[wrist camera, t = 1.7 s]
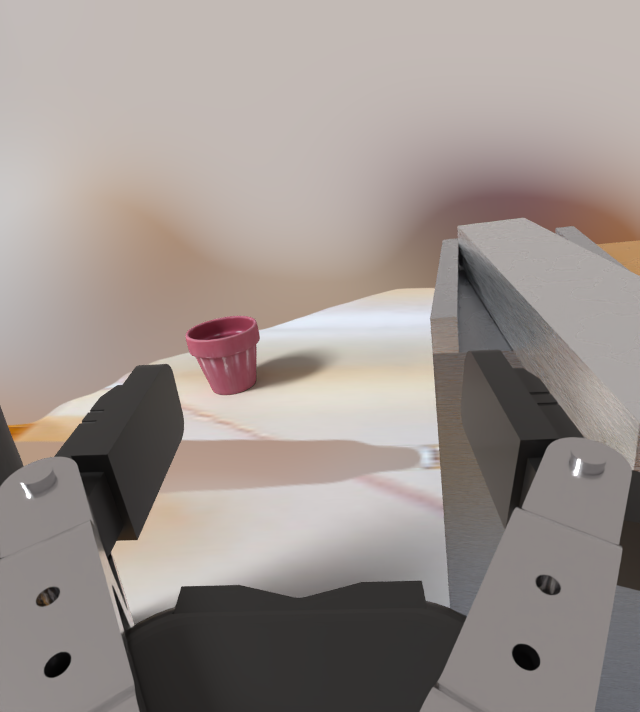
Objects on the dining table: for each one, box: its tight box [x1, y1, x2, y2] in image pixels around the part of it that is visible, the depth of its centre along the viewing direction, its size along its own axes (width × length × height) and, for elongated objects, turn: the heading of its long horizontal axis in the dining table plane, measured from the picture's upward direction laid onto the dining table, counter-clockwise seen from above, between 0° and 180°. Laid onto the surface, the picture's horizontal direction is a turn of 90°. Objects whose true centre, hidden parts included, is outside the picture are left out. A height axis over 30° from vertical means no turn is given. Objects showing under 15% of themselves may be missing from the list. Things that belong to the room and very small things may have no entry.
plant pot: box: [186, 316, 260, 395], centre depth 96 cm, size 14×14×13 cm
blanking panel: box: [458, 218, 640, 472], centre depth 20 cm, size 24×4×2 cm, turn 173°
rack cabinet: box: [430, 226, 640, 712], centre depth 30 cm, size 16×15×34 cm
